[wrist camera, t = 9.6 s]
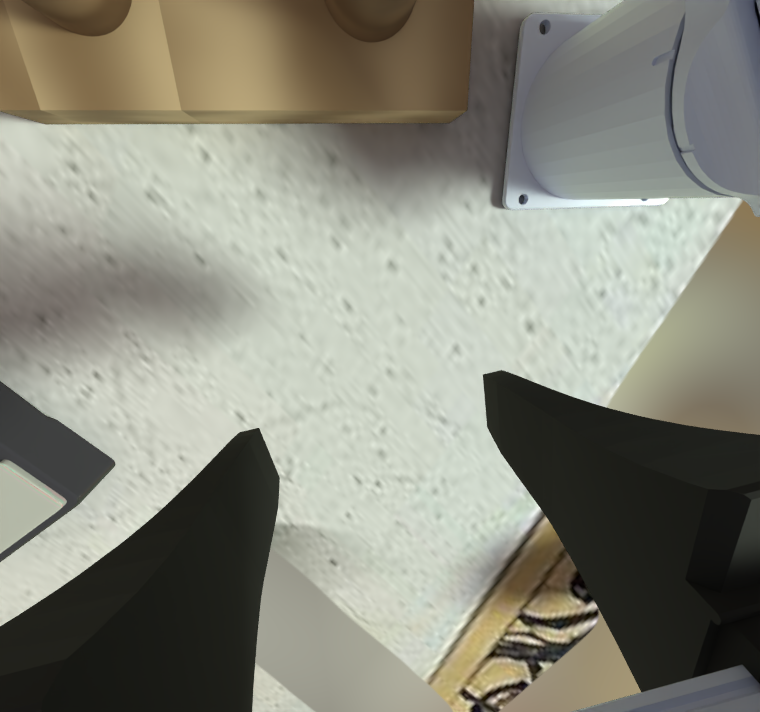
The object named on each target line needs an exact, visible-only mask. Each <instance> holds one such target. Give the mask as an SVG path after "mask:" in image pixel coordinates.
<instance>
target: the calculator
mask: <svg viewBox="0 0 760 712" xmlns="http://www.w3.org/2000/svg"><path fill="white" fill-rule="evenodd" d="M114 466H115V462H114V460H113V459H111V458H110V457H109V456H107V455H106V454H105V453H103V452H102V451H100V450H99V449H97V448H96V447H95V446H93V445H92V444H90V443H89V442H88V441H86V440H85V439H83V438H82V437H80V436H79V435H78V434H76V433H75V432H73V431H72V430H71V429H69V428H68V427H66V426H65V425H63V424H62V423H61V422H59V421H58V420H56V419H52V418H48V417H46V416H45V415H44V414H42V413H41V412H40V411H38V410H37V409H36V408H34V407H33V406H32V405H30V404H29V403H28V402H26V401H25V400H24V399H23V398H21V397H20V396H19V395H17V394H16V393H15V392H13V391H12V390H11V389H9V388H8V387H7V386H6V385H4V384H3V383H2V382H0V562H1V561H2V560H4V559H5V558H6V557H8V556H9V555H11V554H12V553H13V552H15V551H16V550H17V549H19V548H20V547H21V546H23V545H24V544H26V543H27V542H28V541H30V540H31V539H32V538H34V537H35V536H36V535H38V534H39V533H41V532H42V531H43V530H45V529H46V528H47V527H49V526H50V525H51V524H53V523H54V522H56V521H57V520H58V519H60V518H61V517H62V516H64V515H65V514H67V513H68V512H69V511H71V510H72V509H73V508H75V507H76V506H77V505H78V504H80V503H81V501H82V500H83V499H84V498H85V497H86V496H87V495H88V494H89V493H90V492H91V491H92V490H93V489H94V488H95V487H96V486H97V485H98V483H99V482H100V481H101V480H102V479H103V478H104V477H105V476H106V475H107V474H108V473H109V472H110V471H111V470H112V469H113V467H114Z"/></svg>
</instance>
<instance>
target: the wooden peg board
mask: <svg viewBox="0 0 760 712" xmlns="http://www.w3.org/2000/svg"><path fill="white" fill-rule="evenodd" d="M473 9H474V0H0V111H1V112H5V113H8V114H12V115H15V116H19V117H22V118H26V119H30V120H33V121H37V122H40V123H44V124H293V123H450V122H452V121H453V120H454V119H456V118H457V117H459V116H460V115H462V114H463V113H465V112H466V111H467V106H468V90H469V74H470V58H471V42H472V25H473Z"/></svg>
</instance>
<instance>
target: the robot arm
mask: <svg viewBox="0 0 760 712" xmlns="http://www.w3.org/2000/svg"><path fill="white" fill-rule="evenodd" d="M540 24H544V26H545V28H546V32H545V35H543V34H541V32H540V30H539V26H540ZM521 195H523V196H524V202H523V203H522V204H520V203H519V200H518V199H519V197H520V196H521ZM723 197H737V198H741V199H743V200H744V201H746V202H747V203H748V204H749V205H750V207H751V208H752V210H753V212H754V215H755V216H757V217H760V0H624V1H622V2H621V3H619V4H618V5H617V6H615V7H614V8H612V9H611V10H609V11H608V12H607V13H605V14H604V15H595V14H564V13H532V14H530V15H529V16H528V17H527V18H525V19H524V21H523V22H522V24H521V27H520V33H519V43H518V52H517V62H516V71H515V81H514V91H513V100H512V110H511V120H510V129H509V139H508V149H507V158H506V168H505V177H504V187H503V197H502V204H503V206H504V207H505V208H506V209H508V210H528V209H561V208H595V207H628V206H659V205H662V204H664V203H665V202H666V201H667V200H668V198H723ZM641 199H642V200H641ZM483 381H484V393H485V405H486V417H487V427H488V429H489V431H490V433H491V435H492V437H493V439H494V441H495V443H496V445H497V447H498V448H499V450H500V452H501V454H502V455H503V457H504V458H505V459H506V461H507V462H508V464H509V465H510V466H511V468H512V469H513V471H514V472H515V474H516V475H517V476H518V478H519V479H520V480H521V482H522V483H523V485H524V486H525V487H526V489H527V490H528V491H529V493H530V494H531V496H532V497H533V498H534V500H535V501H536V503H537V504H538V505H539V507H540V508H541V509H542V511H543V512H544V514H545V515H546V517H547V518H548V520H549V521H550V523H551V524H552V526H553V528H554V530H555V531H556V533H557V535H558V536H559V538H560V540H561V542H562V543H563V545H564V547H565V548H566V550H567V552H568V554H569V555H570V557H571V559H572V561H573V562H574V564H575V566H576V568H577V570H578V571H579V573H580V575H581V577H582V579H583V580H584V582H585V584H586V586H587V588H588V589H589V591H590V593H591V595H592V597H593V599H594V601H595V602H596V604H597V606H598V608H599V610H600V612H601V614H602V616H603V618H604V619H605V621H606V623H607V625H608V627H609V629H610V631H611V633H612V635H613V637H614V638H615V640H616V642H617V644H618V646H619V648H620V650H621V652H622V654H623V656H624V658H625V660H626V662H627V664H628V666H629V668H630V670H631V672H632V674H633V676H634V678H635V680H636V682H637V684H638V686H639V688H640V690H641V693H637V694H634V695H630V696H627V697H623V698H619V699H616V700H612V701H609V702H605V703H601V704H598V705H594V706H591V707H587V708H583V709H579V710H576V711H572V712H760V435H755V434H746V433H737V432H730V431H722V430H714V429H707V428H700V427H693V426H686V425H681V424H676V423H671V422H666V421H660V420H655V419H650V418H645V417H641V416H637V415H633V414H629V413H625V412H621V411H617V410H613V409H609V408H606V407H602V406H599V405H596V404H592V403H589V402H586V401H583V400H580V399H577V398H574V397H571V396H568V395H566V394H563V393H560V392H557V391H555V390H552V389H550V388H547V387H544V386H542V385H539V384H537V383H534V382H532V381H529V380H527V379H524V378H522V377H519V376H517V375H514V374H511V373H509V372H506V371H502V370H501V371H496V372H492V373H488V374H484V375H483ZM279 479H280V478H279V475H278V473H277V470H276V468H275V465H274V463H273V461H272V458H271V456H270V453H269V451H268V448H267V446H266V444H265V441H264V439H263V436H262V434H261V432H260V429H259V428H256V429H252V430H248V431H244V432H240V433H238V434H237V435H236V436H235V437H234V438H233V439H232V440H231V441H230V442H229V443H228V444H227V445H226V446H225V447H224V448H223V449H222V450H221V451H220V452H219V453H218V454H217V455H216V456H215V457H214V458H213V459H212V461H211V462H210V463H209V464H208V465H207V466H206V467H205V468H204V469H203V470H202V471H201V472H200V473H199V474H198V475H197V476H196V477H195V478H194V479H193V480H192V481H191V482H190V483H189V484H188V485H187V486H186V487H185V488H184V489H183V490H182V491H181V492H180V493H179V494H178V495H176V496H175V497H174V498H173V499H172V500H171V501H170V502H169V503H168V504H167V505H166V506H165V507H164V508H163V509H162V510H161V511H159V512H158V513H157V514H156V515H155V516H154V517H153V518H152V519H150V520H149V521H148V522H147V523H146V524H144V525H143V526H142V527H141V528H140V529H138V530H137V531H136V532H135V533H134V534H132V535H131V536H130V537H129V538H128V539H126V540H125V541H124V542H122V543H121V544H120V545H119V546H117V547H116V548H115V549H113V550H112V551H110V552H109V553H108V554H106V555H105V556H104V557H102V558H101V559H100V560H98V561H97V562H96V563H94V564H93V565H92V566H90V567H89V568H88V569H86V570H85V571H84V572H82V573H81V574H80V575H78V576H77V577H75V578H74V579H72V580H71V581H69V582H68V583H67V584H65V585H64V586H62V587H61V588H59V589H58V590H56V591H55V592H53V593H52V594H50V595H49V596H47V597H46V598H44V599H43V600H41V601H40V602H38V603H37V604H35V605H33V606H32V607H30V608H29V609H27V610H26V611H24V612H23V613H21V614H20V615H18V616H16V617H15V618H13V619H12V620H10V621H8V622H7V623H5V624H4V625H2V626H0V712H252V701H253V683H254V670H255V657H256V644H257V632H258V621H259V611H260V602H261V595H262V588H263V581H264V577H265V571H266V567H267V561H268V557H269V552H270V547H271V542H272V537H273V531H274V526H275V521H276V516H277V510H278V499H279Z"/></svg>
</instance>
